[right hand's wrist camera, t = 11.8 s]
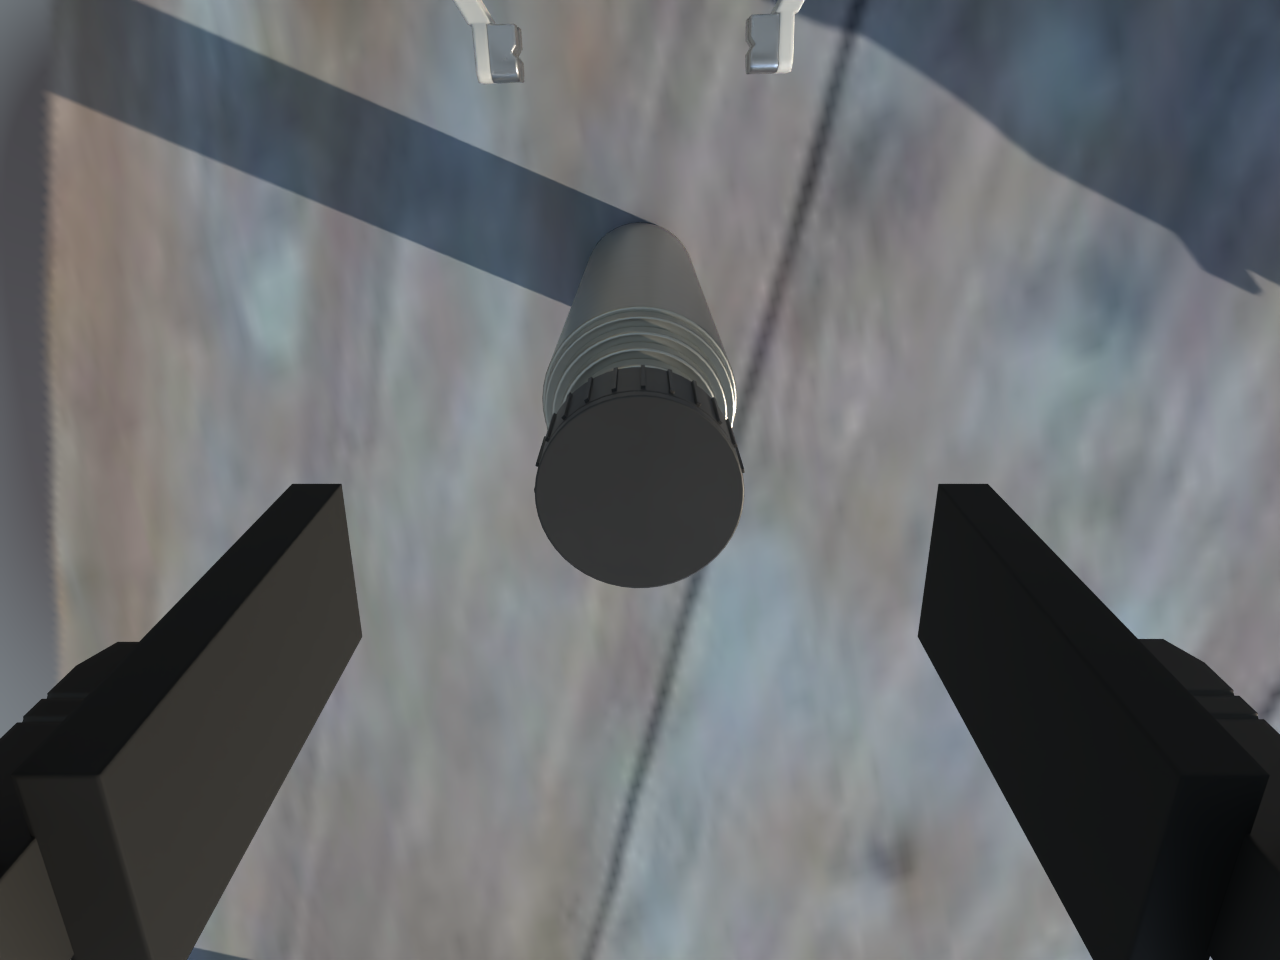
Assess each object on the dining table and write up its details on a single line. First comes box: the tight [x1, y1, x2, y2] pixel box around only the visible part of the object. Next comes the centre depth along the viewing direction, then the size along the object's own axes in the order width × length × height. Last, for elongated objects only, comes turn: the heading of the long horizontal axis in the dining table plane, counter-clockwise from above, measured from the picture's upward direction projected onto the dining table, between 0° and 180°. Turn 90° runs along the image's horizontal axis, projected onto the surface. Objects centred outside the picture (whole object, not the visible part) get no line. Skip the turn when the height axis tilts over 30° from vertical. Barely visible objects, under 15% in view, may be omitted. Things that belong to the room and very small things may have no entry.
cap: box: [534, 365, 744, 588], centre depth 17 cm, size 4×4×2 cm
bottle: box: [543, 223, 737, 430], centre depth 28 cm, size 5×5×25 cm
